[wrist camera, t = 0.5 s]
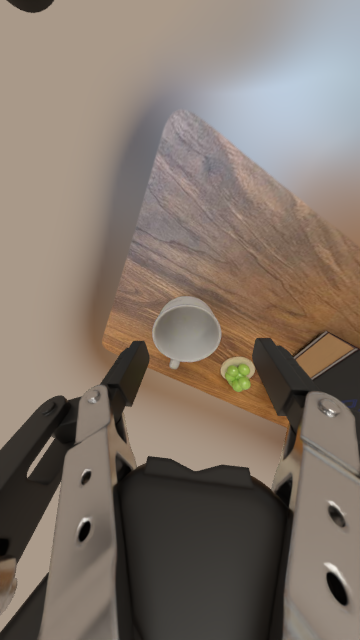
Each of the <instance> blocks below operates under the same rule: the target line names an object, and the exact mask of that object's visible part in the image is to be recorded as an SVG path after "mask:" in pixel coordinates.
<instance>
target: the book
mask: <svg viewBox="0 0 360 640" xmlns="http://www.w3.org/2000/svg"><path fill="white" fill-rule="evenodd" d="M293 358H294V360H296V361H297V362H298V364H299V366H301V367H302V368H303V370H304V371H305V372H306V373H307V374H308V376H309V377H310V378H311V379H312V380H313V382H314V383H315V384H316V385H317V386H318V388H319V389H320V390H321V391H322V392H324V393H327V394H329V395H331V396H333V397H335V398H337V399H338V400H340V401H341V402H342V403H343V404H345V405H346V406H347V407H348V408H349V409H353V410H356V411H359V412H360V349H359V348H357V347H355V346H353V345H352V344H350V343H348V342H346V341H344V340H342V339H341V338H339V337H337V336H335V335H333V334H331V333H329V332H328V331H325V332H323V333H322V334H321V335H320V336H319V337H317V338H316V339H315V340H314V341H312V342H311V343H310V344H309V345H308V346H306V347H305V348H304V349H303V350H301V351H300V352H299V353H298V354H297V355H295V356H294V357H293ZM262 383H263V382H262Z"/></svg>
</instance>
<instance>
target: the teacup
mask: <svg viewBox="0 0 360 640" xmlns="http://www.w3.org/2000/svg"><path fill="white" fill-rule="evenodd" d="M152 332H153V333H152V336H153V341H154V343H155V345H156V347H157V348H158V350H159V351H160V352H161V353H162V354H164V355H165V356H167V357H169V358H171V360H170V365H169V366H170V368H172V369H177V368H178V366H179V363H180V362H195V361H199V360H202V359H204V358H206V357H208V356H209V355H211V354H212V353H213V352H214V351H215V350H216V348H217V347H218V345H219V343H220V340H221V327H220V324H219V322H218V320H217V319H216V318H215V316H214V314H213V312H212V311H211V309H210V308H209V306H208V305H207V304H206V303H205V302H203V301H202V300H200V299H198V298H195V297H191V296H182V297H177V298H175V299H173V300H171V301H170V302H168V303H167V304H166V305H165V306H164V308H163V309H162V311H161V312H160V314H159V316H158V318H157V319H156V321H155V323H154V326H153V330H152Z"/></svg>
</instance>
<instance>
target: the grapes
mask: <svg viewBox="0 0 360 640" xmlns="http://www.w3.org/2000/svg"><path fill="white" fill-rule="evenodd" d="M220 371H221V375H222V376H223V378H224V379H226V380H227V381H228V383H229V384H230V385H231V386H232V388H233V389H234V390H235V391H236V392H241V391H243V390H248V389H249V388H250V386H251V383H250V380H249V378H251V377H252V376H253V374H254V372H255V366H254V364H253V363H252V361H250V360H249V359H247V358H244V357H232V358H229V359H227V360H226V361H224V362H223V364H222V365H221V368H220Z"/></svg>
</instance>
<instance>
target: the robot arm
mask: <svg viewBox="0 0 360 640" xmlns="http://www.w3.org/2000/svg"><path fill="white" fill-rule="evenodd" d="M252 359H253V363H254V365H255V367H256V370H257V372H258V374H259V376H260V378H261V380H262V382H263V385H264V387H265V389H266V391H267V393H268V395H269V398H270V400H271V402H272V404H273V406H274V408H275V410H276V413H277V415H278V416H287V418H288V420H289V424H288V428H287V432H286V437H285V441H284V446H283V450H282V455H281V459H280V463H279V465H278V468H277V470H276V473H275V476H274V480H273V484H272V489H270V488H269V487H267V486H266V485H265V484H263V483H262V482H261V481H259V480H258V479H256V478H255V477H253V476H251V475H250V471H249V468H246V467H237V466H229V465H219V466H215V467H211V468H208V469H204V470H200V471H193V470H191V469H189V468H187V467H185V466H183V465H181V464H180V463H178V462H176V461H174V460H172V459H168V458H160V457H150V456H148V458H147V462H146V463H145V464H143V465H141V466H138V467H137V465H136V461H135V457H134V454H133V452H132V449H131V447H130V443H129V438H128V433H127V428H126V423H125V417H124V413H123V410H124V408H125V406H130V407H131V406H132V404H133V402H134V399H135V397H136V394H137V392H138V389H139V387H140V384H141V382H142V379H143V376H144V374H145V371H146V369H147V366H148V364H149V353H148V350H147V347H146V344H145V342H144V341H133V342H132V344H131V345H130V347H129V348H126V349H125V350H124V351H123V352H122V353H121V354H120V355H119V357H118V358H117V360H116V361H115V363H114V365H113V366H112V367H111V369H110V370H109V372H108V374H107V375H106V376H105V378H104V379H103V381H102V382H101V384H100V385H97V386H94V387H92V388H91V389H89V390H88V391H87V392H86V393H85V394H84V395H83V396H82V397H78V398H74V399H71V400H67V399H66V398H65V397H64V396H55V397H53V398H51V399H49V400H47V401H46V402H45V403H43V404H42V405H41V406H40V407H39V408H38V409H37V410H36V411H35V412H34V413H33V414H32V415H31V417H30V418H29V419H28V420H27V421H26V422H25V423H24V424H23V425H22V427H21V428H20V429H19V430H18V431H17V432H16V433H15V434H14V436H13V437H12V438H11V439H10V440H9V441H8V442H7V443H6V444H5V445H4V447H3V448H2V449H1V450H0V615H1V614H2V613H3V612H4V611H5V610H6V608H7V607H8V605H9V604H10V602H11V600H12V598H13V596H14V594H15V591H16V588H17V579H16V578H15V573H16V565H17V563H18V561H19V559H20V558H21V556H22V554H23V552H24V550H25V548H26V546H27V544H28V542H29V541H30V539H31V537H32V535H33V533H34V531H35V529H36V527H37V525H38V523H39V522H40V520H41V518H42V516H43V514H44V512H45V510H46V508H47V506H48V504H49V502H50V501H51V499H52V497H53V495H54V493H55V491H56V489H57V487H58V485H59V484H60V482H61V488H60V495H59V503H58V510H57V517H56V525H55V532H54V539H53V546H52V554H51V561H50V568H49V572H48V573H47V574H46V576H45V577H44V578H43V579H42V581H41V582H40V583H39V585H38V586H37V587H36V588H35V590H34V591H33V592H32V593H31V595H30V596H29V597H28V599H27V600H26V601H25V602H24V603H23V605H22V606H21V607H20V609H19V610H18V611H17V612H16V614H15V615H14V616H13V617H12V619H11V620H10V621H9V622H8V624H7V625H6V626H5V627H4V629H3V630H2V631H1V632H0V640H360V412H359V411H356V410H353V409H349V408H348V407H347V406H346V405H345V404H343V403H342V402H341V401H340V400H338V399H337V398H335V397H333V396H331V395H329V394H327V393H324V392H322V391H321V390H320V389H319V388H318V386H317V385H316V384H315V383H314V382H313V380H312V379H311V378H310V377H309V376H308V374H307V373H306V372H305V371H304V370H303V368H302V367H301V366H299V364H298V362H297V361H296V360H294V358H293V356H292V355H291V354H290V353H289V352H288V351H287V350H286V349H284V348H283V347H281V346H276V345H275V343H274V342H273V341H272V339H271V338H257V339H256V340H255V345H254V350H253V354H252ZM51 436H52V437H53V438H55V439H54V441H53V442H52V443H51V445H50V446H49V448H48V450H47V451H46V452H45V454H44V455H43V457H42V458H41V460H40V461H39V463H38V464H37V466H36V467H35V469H34V471H33V472H32V473H31V475H30V476H29V477H28V478H27V472H28V469H29V467H30V465H31V464H32V462H33V461H34V460H35V458H36V457H37V455H38V454H39V453H40V451H41V450H42V448H43V447H44V445H45V444H46V443H47V441H48V440H49V438H50V437H51ZM61 480H62V481H61Z"/></svg>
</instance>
